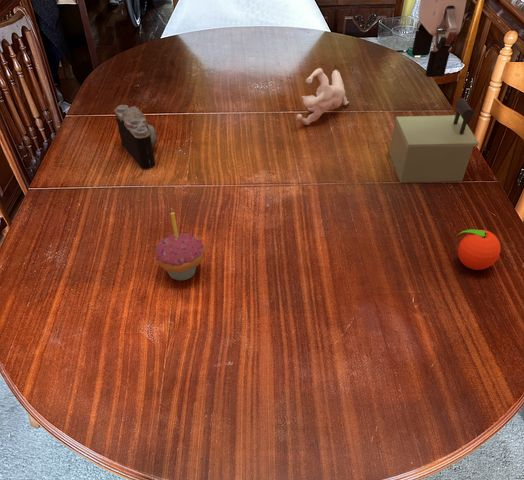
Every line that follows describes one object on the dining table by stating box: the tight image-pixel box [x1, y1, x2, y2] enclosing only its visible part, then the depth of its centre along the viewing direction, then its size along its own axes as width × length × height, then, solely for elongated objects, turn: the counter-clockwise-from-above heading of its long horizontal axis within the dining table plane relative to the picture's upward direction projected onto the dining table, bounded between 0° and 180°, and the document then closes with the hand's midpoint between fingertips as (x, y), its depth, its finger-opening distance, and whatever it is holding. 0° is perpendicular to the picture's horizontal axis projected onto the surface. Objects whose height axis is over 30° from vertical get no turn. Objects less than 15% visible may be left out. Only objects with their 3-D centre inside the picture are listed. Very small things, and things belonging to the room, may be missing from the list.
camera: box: [114, 104, 158, 171], centre depth 115 cm, size 15×7×10 cm, turn 31°
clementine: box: [457, 228, 501, 271], centre depth 89 cm, size 8×7×7 cm
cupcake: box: [154, 207, 205, 281], centre depth 86 cm, size 9×8×12 cm
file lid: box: [395, 97, 480, 148], centre depth 106 cm, size 14×13×6 cm
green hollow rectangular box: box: [388, 120, 474, 184], centre depth 111 cm, size 14×13×8 cm
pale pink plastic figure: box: [296, 67, 350, 126], centre depth 127 cm, size 13×13×18 cm
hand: (427, 65), depth 91 cm, fingers open, 9 cm apart
